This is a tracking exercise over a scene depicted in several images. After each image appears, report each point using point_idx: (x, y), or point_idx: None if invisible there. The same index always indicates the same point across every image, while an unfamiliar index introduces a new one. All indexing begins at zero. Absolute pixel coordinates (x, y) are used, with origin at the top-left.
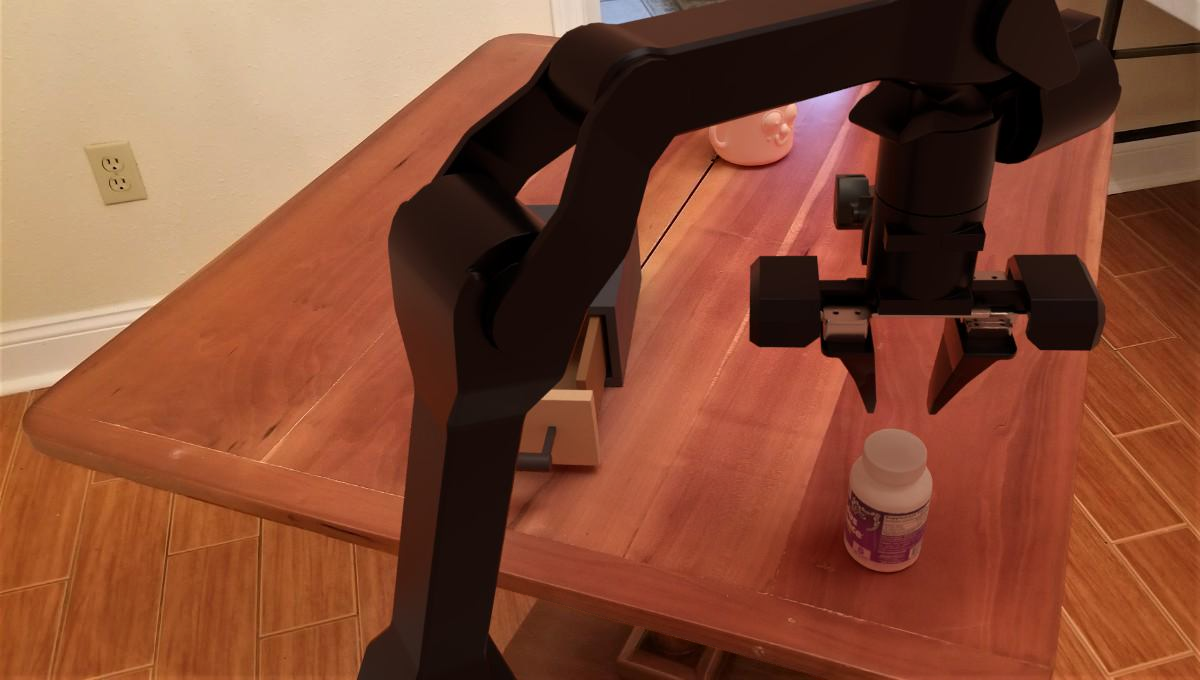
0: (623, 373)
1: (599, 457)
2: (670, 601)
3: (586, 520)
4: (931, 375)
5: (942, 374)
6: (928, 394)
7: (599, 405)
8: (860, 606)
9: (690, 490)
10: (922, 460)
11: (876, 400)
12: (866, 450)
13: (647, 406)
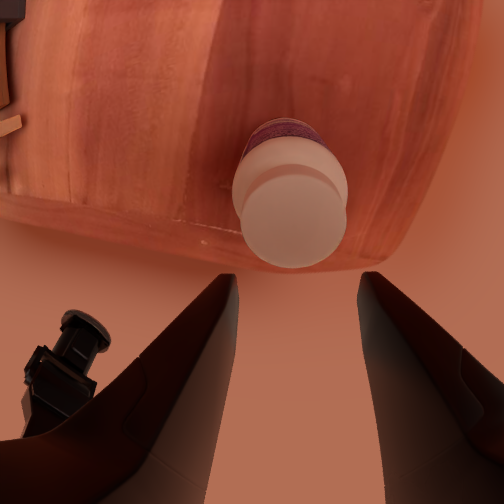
0: (19, 10)
1: (17, 123)
2: (113, 235)
3: (38, 173)
4: (390, 321)
5: (390, 422)
6: (369, 298)
7: (4, 64)
8: None
9: (92, 117)
10: (334, 247)
11: (233, 359)
12: (244, 232)
13: (43, 29)
